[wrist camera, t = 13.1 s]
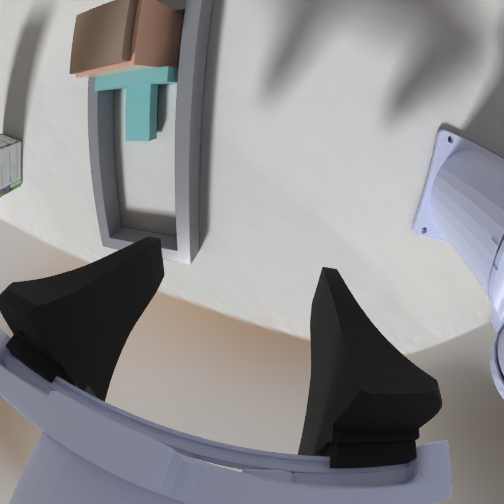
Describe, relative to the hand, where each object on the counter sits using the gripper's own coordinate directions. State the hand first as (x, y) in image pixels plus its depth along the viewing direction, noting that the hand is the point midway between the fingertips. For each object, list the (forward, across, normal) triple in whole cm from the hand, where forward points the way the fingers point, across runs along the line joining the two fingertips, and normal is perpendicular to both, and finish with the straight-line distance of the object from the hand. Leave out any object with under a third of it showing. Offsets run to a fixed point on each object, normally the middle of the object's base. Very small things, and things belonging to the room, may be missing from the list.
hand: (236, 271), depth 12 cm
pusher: (+8, +9, -6) cm, 14 cm away
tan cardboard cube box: (+8, +9, -11) cm, 17 cm away
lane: (+8, +9, -5) cm, 13 cm away
